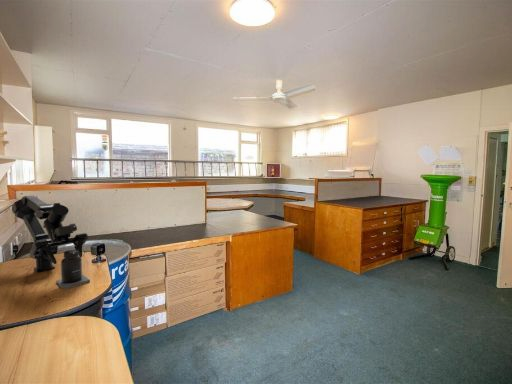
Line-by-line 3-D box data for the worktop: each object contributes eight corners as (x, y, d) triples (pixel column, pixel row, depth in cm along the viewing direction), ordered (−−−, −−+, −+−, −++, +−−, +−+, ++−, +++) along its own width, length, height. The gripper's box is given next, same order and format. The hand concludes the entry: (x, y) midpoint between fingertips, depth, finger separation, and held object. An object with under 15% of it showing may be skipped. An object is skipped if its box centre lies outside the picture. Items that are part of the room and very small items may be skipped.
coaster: (56, 282, 104) (56, 280, 104) (81, 276, 111) (81, 273, 111) (63, 289, 99) (63, 287, 98) (89, 281, 106) (89, 279, 106)
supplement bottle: (77, 283, 102) (76, 253, 101) (58, 284, 101) (56, 254, 100) (85, 276, 109) (84, 248, 108) (67, 277, 107) (65, 249, 106)
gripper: (33, 221, 99) (47, 255, 94) (85, 215, 115) (99, 243, 110) (25, 238, 103) (39, 271, 99) (77, 229, 119) (90, 257, 115)
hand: (69, 260), depth 105 cm, fingers open, 9 cm apart
